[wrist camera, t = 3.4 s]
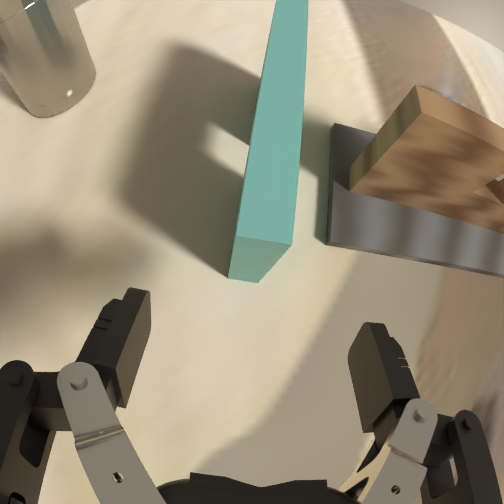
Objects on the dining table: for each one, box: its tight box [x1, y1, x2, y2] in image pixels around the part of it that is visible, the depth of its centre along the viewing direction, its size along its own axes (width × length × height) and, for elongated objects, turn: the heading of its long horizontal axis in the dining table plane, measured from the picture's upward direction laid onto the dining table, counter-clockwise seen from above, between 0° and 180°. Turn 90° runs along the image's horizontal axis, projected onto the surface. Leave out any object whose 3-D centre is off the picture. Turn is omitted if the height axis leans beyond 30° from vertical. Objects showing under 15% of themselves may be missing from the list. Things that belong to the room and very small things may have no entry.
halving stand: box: [326, 84, 504, 278], centre depth 23 cm, size 27×12×13 cm, turn 82°
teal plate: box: [228, 0, 308, 283], centre depth 22 cm, size 20×2×12 cm, turn 172°
